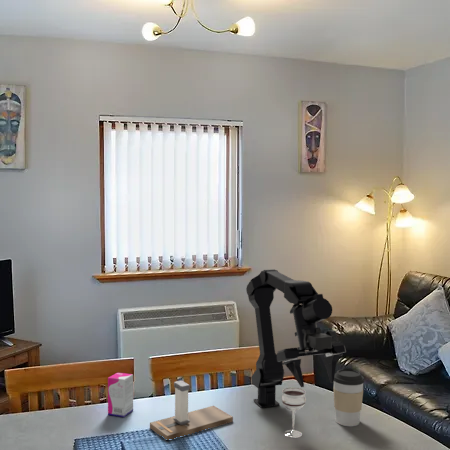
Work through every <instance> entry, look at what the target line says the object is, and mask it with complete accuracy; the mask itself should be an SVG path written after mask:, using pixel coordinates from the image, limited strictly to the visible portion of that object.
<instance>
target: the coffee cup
mask: <svg viewBox="0 0 450 450" xmlns="http://www.w3.org/2000/svg"><path fill="white" fill-rule="evenodd" d="M364 383H365V377H364V376H363V375H361V372H359V371H357V370H355V369H353V368H351V367H345V368H342V369H338V370H337V371H335V376H334V382H333V389H332V390H333V405H334V413H335V414H334V415H335V417H334V418H335V419H334V420H335V422H336V423H337V424H338V425H340V426H344V427H356V426H358V425H360V422H361V421H360V419H361V411H362V406H363V397H364Z"/></svg>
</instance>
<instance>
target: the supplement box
mask: <svg viewBox="0 0 450 450" xmlns="http://www.w3.org/2000/svg"><path fill="white" fill-rule="evenodd" d="M133 411H134V374H132V373H125V372H116V373H114V374H112V375H110V376H109V377H107V416H111V417H112V416H113V417H119V418H126V417H127V416H128V415H130V414H131V413H132V412H133Z"/></svg>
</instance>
